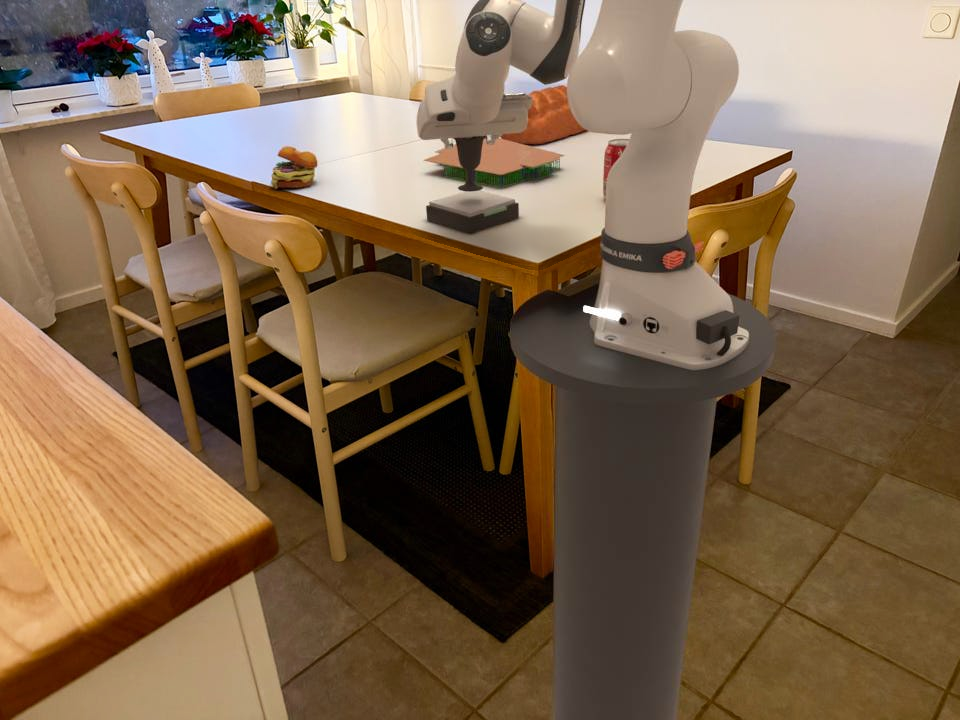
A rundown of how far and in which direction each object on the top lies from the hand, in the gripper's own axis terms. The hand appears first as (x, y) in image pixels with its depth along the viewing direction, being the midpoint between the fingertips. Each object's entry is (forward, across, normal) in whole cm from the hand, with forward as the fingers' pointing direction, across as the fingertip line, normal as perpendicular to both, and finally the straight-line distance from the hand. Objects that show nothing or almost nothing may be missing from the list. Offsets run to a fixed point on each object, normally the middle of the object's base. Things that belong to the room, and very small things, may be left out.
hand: (468, 143), depth 141 cm
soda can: (+12, -32, +9) cm, 35 cm away
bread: (+63, -38, -42) cm, 85 cm away
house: (+37, -12, -16) cm, 42 cm away
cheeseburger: (+39, +35, -18) cm, 56 cm away
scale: (+10, 0, +11) cm, 15 cm away
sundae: (+6, 0, +6) cm, 9 cm away
